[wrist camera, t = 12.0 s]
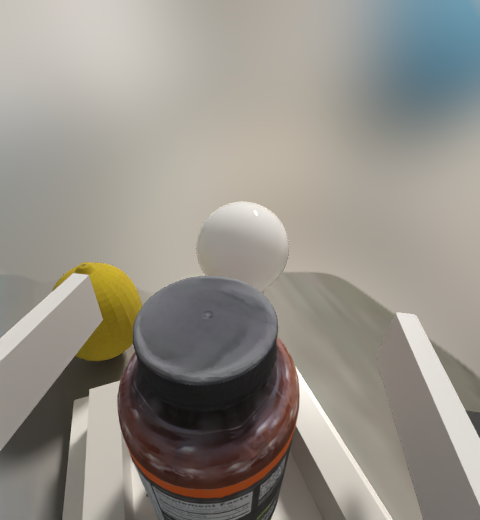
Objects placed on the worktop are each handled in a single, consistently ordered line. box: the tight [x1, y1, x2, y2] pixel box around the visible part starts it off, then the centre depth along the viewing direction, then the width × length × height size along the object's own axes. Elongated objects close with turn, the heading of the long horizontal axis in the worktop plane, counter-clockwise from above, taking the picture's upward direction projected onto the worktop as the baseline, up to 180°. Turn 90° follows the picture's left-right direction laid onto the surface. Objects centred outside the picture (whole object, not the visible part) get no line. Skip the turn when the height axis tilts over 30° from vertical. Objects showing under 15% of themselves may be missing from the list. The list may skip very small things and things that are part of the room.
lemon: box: [52, 262, 142, 361], centre depth 20 cm, size 6×6×8 cm
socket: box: [62, 368, 393, 520], centre depth 14 cm, size 14×14×4 cm
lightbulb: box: [196, 202, 289, 294], centre depth 21 cm, size 6×6×11 cm
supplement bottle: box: [117, 276, 300, 520], centre depth 11 cm, size 6×6×11 cm
